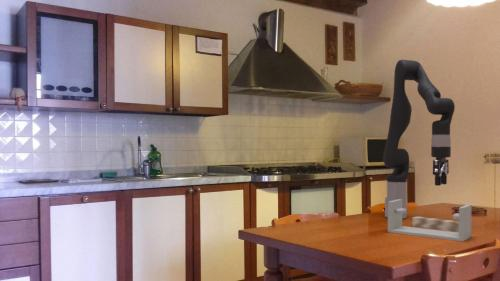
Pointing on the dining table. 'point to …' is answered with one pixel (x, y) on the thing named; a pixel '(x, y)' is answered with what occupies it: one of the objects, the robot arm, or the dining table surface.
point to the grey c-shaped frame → (396, 227)
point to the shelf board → (436, 224)
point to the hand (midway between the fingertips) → (440, 184)
